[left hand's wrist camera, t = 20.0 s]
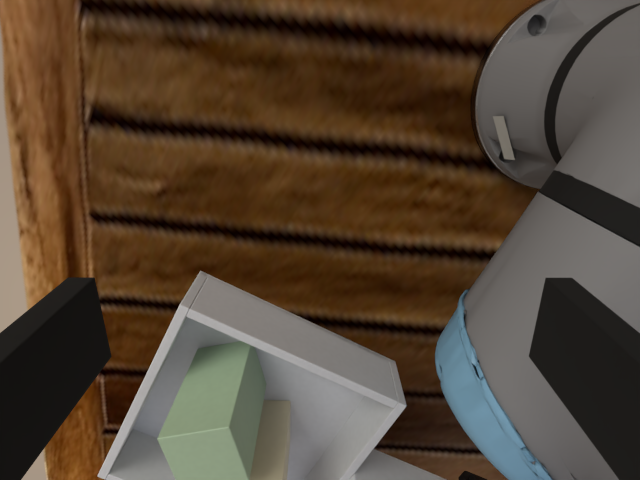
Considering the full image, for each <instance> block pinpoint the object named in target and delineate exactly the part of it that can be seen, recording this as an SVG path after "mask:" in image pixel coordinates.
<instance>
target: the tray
mask: <svg viewBox="0 0 640 480" xmlns="http://www.w3.org/2000/svg"><path fill="white" fill-rule="evenodd" d="M238 341H242V342H245V343H247V344H249V345H251V346H254V347H255V349H256V352H257V356H258V359H259V362H260V365H261V368H262V371H263V375H264V378H265V381H266V390H265V395H264V400H280V401H290V402H291V418H290V450H289V461H288V473H287V480H447V479H444V478H442V477H439V476H437V475H435V474H432V473H430V472H428V471H425V470H423V469H420V468H418V467H416V466H413V465H411V464H409V463H406V462H404V461H401V460H399V459H397V458H394V457H392V456H390V455H387V454H385V453H382V452H380V451H378V450H375V449H374V447H375V446H376V445H377V444H378V442H379V441H380V440H381V438H382V437H383V436H384V435H385V433H386V432H387V431H388V429H389V428H390V427H391V426H392V424H393V423H394V422H395V420H396V419H397V418H398V417H399V415H400V414H401V413H402V411H403V410H404V409H405V408H406V402H405V398H404V394H403V390H402V386H401V382H400V378H399V374H398V370H397V366H396V363H395V361H393V360H391V359H389V358H387V357H385V356H383V355H380V354H378V353H376V352H374V351H372V350H370V349H367V348H365V347H363V346H361V345H359V344H357V343H355V342H352V341H350V340H348V339H346V338H344V337H342V336H340V335H337V334H335V333H333V332H331V331H329V330H327V329H325V328H322V327H320V326H318V325H316V324H314V323H312V322H310V321H307V320H305V319H303V318H301V317H299V316H297V315H294V314H292V313H290V312H288V311H286V310H284V309H282V308H279V307H277V306H275V305H273V304H271V303H269V302H267V301H264V300H262V299H260V298H258V297H256V296H254V295H252V294H249V293H247V292H245V291H243V290H241V289H239V288H236V287H234V286H232V285H230V284H228V283H226V282H224V281H221V280H219V279H217V278H215V277H213V276H211V275H209V274H206V273H204V272H202V271H200V272H199V274H198V276H197V277H196V279H195V281H194V282H193V284H192V285H191V287H190V289H189V290H188V292H187V294H186V295H185V297H184V298H183V300H182V302H181V303H180V305H179V307H178V309H177V311H176V313H175V315H174V318H173V320H172V322H171V324H170V326H169V328H168V330H167V332H166V334H165V336H164V338H163V340H162V343H161V345H160V347H159V349H158V351H157V353H156V355H155V357H154V359H153V361H152V363H151V365H150V368H149V370H148V372H147V374H146V376H145V378H144V380H143V382H142V384H141V386H140V388H139V390H138V393H137V395H136V397H135V399H134V401H133V403H132V405H131V407H130V409H129V411H128V413H127V415H126V418H125V420H124V422H123V424H122V426H121V428H120V430H119V432H118V434H117V436H116V438H115V441H114V443H113V445H112V447H111V449H110V451H109V453H108V455H107V457H106V459H105V461H104V463H103V466H102V468H101V470H100V472H99V474H98V477H100V478H102V479H106V480H176V479H175V477H174V475H173V473H172V471H171V468H170V466H169V464H168V462H167V460H166V457H165V455H164V453H163V451H162V449H161V446H160V444H159V442H158V440H157V438H158V436H159V434H160V431H161V429H162V427H163V425H164V423H165V420H166V418H167V416H168V414H169V411H170V409H171V407H172V405H173V403H174V400H175V398H176V396H177V394H178V391H179V389H180V387H181V385H182V383H183V380H184V378H185V376H186V374H187V371H188V369H189V367H190V365H191V363H192V360H193V358H194V356H195V354H196V351H197V349H199V348H205V347H210V346H216V345H221V344H227V343H233V342H238Z"/></svg>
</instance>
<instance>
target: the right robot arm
mask: <svg viewBox="0 0 640 480" xmlns="http://www.w3.org/2000/svg"><path fill="white" fill-rule="evenodd" d="M459 480H487V479H484V478H482V477H480V476H477V475H475V474H472V473H470V472H467V471H464V472H463V473H462V474H461V475H460V477H459Z"/></svg>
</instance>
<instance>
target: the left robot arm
mask: <svg viewBox="0 0 640 480" xmlns="http://www.w3.org/2000/svg"><path fill="white" fill-rule="evenodd" d="M471 120H472V127H473V131H474V134H475V137H476V140H477V143H478V145H479V147H480V149H481V151H482V152H483V154H484V155H485V157H486V158H487V159H488V160H489V162H490V163H491V164H492V165H493V166H494V167H495V168H496V169H498V170H499V171H500V172H502V173H503V174H505V175H506V176H508V177H510V178H511V179H513V180H515V181H517V182H519V183H521V184H524V185H527V186H530V187H533V188H538V189H540V190H539V192H537V194H536V195H535V197H534V198H533V200H532V201H531V202H530V204H529V205H528V207H527V208H526V210H525V211H524V213H523V214H522V216H521V217H520V219H519V220H518V222H517V223H516V225H515V226H514V228H513V229H512V231H511V232H510V233H509V235H508V236H507V238H506V239H505V240H504V242H503V243H502V245H501V246H500V247H499V249H498V250H497V252H496V253H495V255H494V256H493V257H492V259H491V260H490V262H489V263H488V264H487V266H486V267H485V269H484V270H483V272H482V273H481V274H480V276H479V277H478V279H477V280H476V281H475V283H474V284H473V286H472V287H471V288H470V289H468V290H465V291H464V293H463V294H462V295H461V297H460V299H459V302H458V308H457V309H456V311H455V312H454V314H453V316H452V317H451V319H450V321H449V322H448V324H447V326H446V327H445V329H444V330H443V332H442V334H441V335H440V337H439V340H438V342H437V346H436V352H435V364H436V369H437V374H438V377H439V379H440V381H441V388H442V391H443V394H444V396H445V398H446V400H447V402H448V404H449V406H450V408H451V410H452V412H453V413H454V415H455V417H456V418H457V420H458V422H459V423H460V425H461V426H462V428H463V429H464V431H465V432H466V433H467V435H468V436H469V437H470V439H471V440H472V441H473V443H474V444H475V445H476V446H477V448H478V449H479V450H480V451H481V452H482V453H483V455H484V456H485V457H486V458H487V459H488V460H489V461H490V462H491V463H492V464H493V465H494V466H495V467H496V468H497V469H498V470H499V471H500V472H501V473H502V474H503V475H504V476H505V477H506V478H507V479H508V480H640V0H539V1H538V2H536V3H534V4H532V5H530V6H529V7H527V8H526V9H524V10H523V11H522V12H520V13H519V14H518V15H517V16H515V17H514V18H513V19H512V20H511V21H510V22H509V23H508V24H507V25H506V26H505V27H504V28H503V29H502V30H501V31H500V33H499V34H498V35H497V36H496V38H495V39H494V40H493V42H492V43H491V45H490V46H489V48H488V50H487V51H486V53H485V55H484V57H483V59H482V61H481V63H480V66H479V68H478V71H477V74H476V77H475V80H474V85H473V89H472V96H471ZM540 192H541V193H540ZM110 358H111V353H110V348H109V343H108V339H107V334H106V329H105V325H104V320H103V315H102V311H101V306H100V301H99V297H98V292H97V287H96V283H95V278H67V279H66V280H65V281H63V282H62V283H61V284H60V285H59V286H57V287H56V288H55V289H54V290H52V291H51V292H50V293H49V294H48V295H46V296H45V297H44V298H43V299H41V300H40V301H39V302H38V303H37V304H35V305H34V306H33V307H32V308H30V309H29V310H28V311H27V312H26V313H24V314H23V315H22V316H21V317H19V318H18V319H17V320H16V321H15V322H13V323H12V324H11V325H10V326H8V327H7V328H6V329H5V330H4V331H2V332H1V333H0V480H21V479H22V478H23V476H24V475H25V474H26V472H27V471H28V469H29V468H30V467H31V465H32V464H33V463H34V461H35V460H36V459H37V457H38V456H39V454H40V453H41V452H42V450H43V449H44V448H45V446H46V445H47V444H48V442H49V441H50V439H51V438H52V437H53V435H54V434H55V433H56V431H57V430H58V429H59V427H60V426H61V424H62V423H63V422H64V420H65V419H66V418H67V416H68V415H69V413H70V412H71V411H72V409H73V408H74V407H75V405H76V404H77V403H78V401H79V400H80V398H81V397H82V396H83V394H84V393H85V392H86V390H87V389H88V388H89V386H90V385H91V383H92V382H93V381H94V379H95V378H96V377H97V375H98V374H99V373H100V371H101V370H102V368H103V367H104V366H105V364H106V363H107V362H108V360H109V359H110Z"/></svg>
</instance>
